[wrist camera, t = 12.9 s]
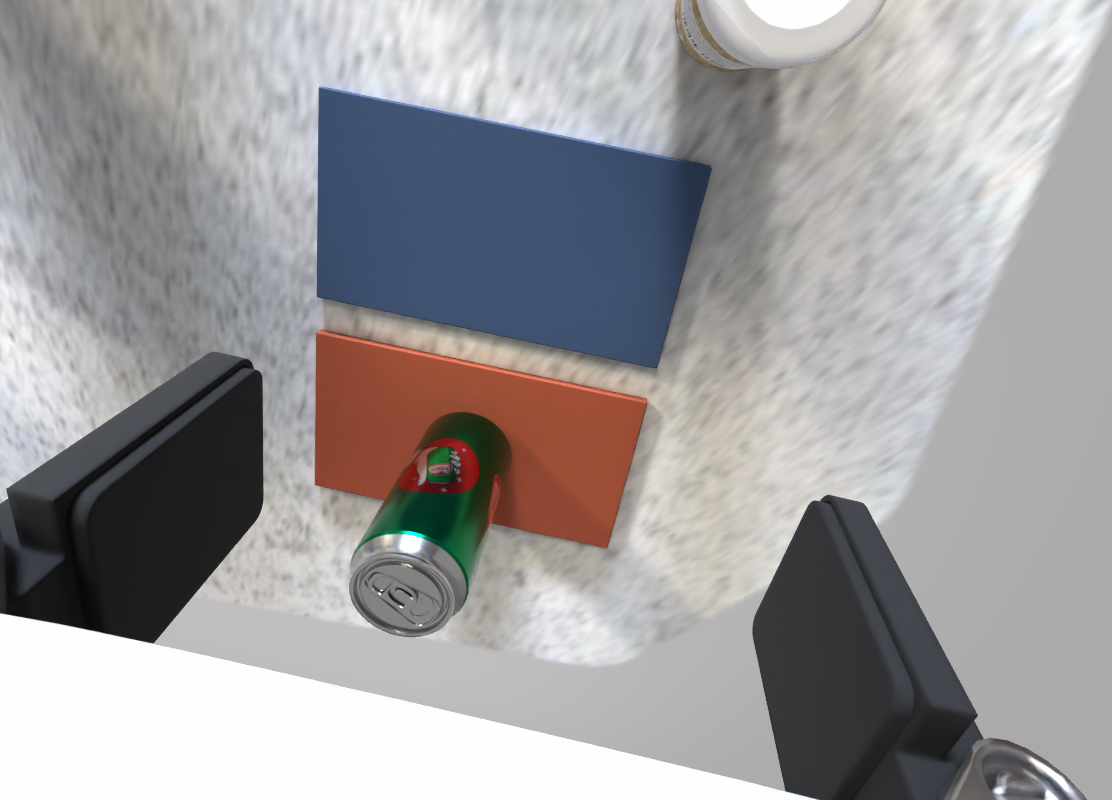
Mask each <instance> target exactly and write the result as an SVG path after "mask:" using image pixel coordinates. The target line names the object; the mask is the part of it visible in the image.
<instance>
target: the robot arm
mask: <svg viewBox="0 0 1112 800" xmlns="http://www.w3.org/2000/svg"><path fill="white" fill-rule="evenodd" d="M6 490H7V494H8V499H7V500H5V501H4V502H2V503H1V504H0V800H1087V799H1086V797H1085V796H1084V795H1083V794H1082V793H1081V792H1080V790H1079V789H1078V788H1077V787H1076V786H1075V785H1074V784H1073V783H1072V782H1071V781H1070V780H1069V779H1068V778H1067V777H1066V776H1065V775H1064V774H1063V773H1061V772H1060V771H1059V770H1058V769H1057V768H1055V767H1054V766H1053V765H1052V764H1050V763H1049V762H1048V761H1047V760H1045V759H1043V758H1042V757H1040V756H1038V755H1037V754H1035V753H1033V752H1032V751H1030V750H1029V749H1027V748H1025V747H1022V746H1020V745H1017V744H1015V743H1012V742H1010V741H1006V740H1001V739H995V738H987V739H983V737H982V735H981V733H980V731H979V729H978V727H977V725H976V723H975V722H974V720H975V719H976V717H977V716H978V715H977V713H976V711H975V709H974V708H973V705H972V704H971V702H970V700H969V698H968V696H967V694H966V692H965V690H964V689H963V687H962V685H961V683H960V681H959V679H958V678H957V675H956V673H955V672H954V670H953V668H952V666H951V664H950V662H949V660H948V659H947V657H946V655H945V653H944V651H943V650H942V647H941V645H940V644H939V642H938V640H937V638H936V636H935V634H934V632H933V631H932V629H931V627H930V625H929V623H928V621H927V619H926V617H925V615H924V614H923V612H922V610H921V608H920V606H919V604H918V603H917V600H916V599H915V597H914V595H913V593H912V591H911V589H910V587H909V586H908V584H907V582H906V580H905V578H904V576H903V574H902V572H901V571H900V569H899V567H898V565H897V563H896V561H895V559H894V558H893V556H892V554H891V552H890V550H889V548H888V546H887V544H886V543H885V541H884V539H883V537H882V535H881V533H880V531H879V529H878V527H877V526H876V524H875V522H874V520H873V518H872V516H871V514H870V512H869V511H868V509H867V507H866V506H865V505H864V503H861V502H857V501H853V500H849V499H844V498H840V497H836V496H832V495H826V496H824V497H823V498H822V499H821V501H820V502H819V501H812V502H811V503H810V504H809V505H808V507H807V509H806V511H805V513H804V515H803V517H802V519H801V521H800V523H799V526H798V528H797V530H796V532H795V534H794V536H793V538H792V540H791V542H790V544H789V546H788V548H787V550H786V552H785V554H784V557H783V559H782V561H781V563H780V565H779V567H778V569H777V571H776V573H775V575H774V577H773V579H772V581H771V583H770V585H769V588H768V590H767V592H766V594H765V596H764V598H763V600H762V602H761V604H760V606H759V608H758V610H757V612H756V615H755V617H754V622H753V639H754V644H755V649H756V654H757V658H758V663H759V668H760V673H761V677H762V682H763V687H764V692H765V696H766V701H767V706H768V711H769V715H770V720H771V725H772V730H773V734H774V738H775V744H776V748H777V753H778V757H779V762H780V767H781V772H782V777H783V781H784V786H785V791H786V792H785V791H781V790H777V789H774V788H769V787H766V786H762V785H758V784H754V783H750V782H746V781H742V780H738V779H734V778H729V777H725V776H721V775H717V774H713V773H708V772H704V771H700V770H696V769H692V768H688V767H684V766H679V765H675V764H671V763H667V762H663V761H658V760H654V759H650V758H645V757H642V756H637V755H633V754H629V753H624V752H621V751H616V750H612V749H608V748H603V747H600V746H596V745H591V744H587V743H583V742H579V741H575V740H571V739H566V738H562V737H558V736H553V735H549V734H545V733H541V732H536V731H531V730H528V729H523V728H519V727H515V726H511V725H506V724H502V723H497V722H494V721H489V720H485V719H481V718H476V717H472V716H468V715H464V714H459V713H454V712H451V711H446V710H442V709H438V708H434V707H429V706H425V705H421V704H416V703H412V702H408V701H403V700H399V699H394V698H390V697H386V696H382V695H377V694H373V693H369V692H364V691H360V690H356V689H352V688H347V687H342V686H338V685H334V684H329V683H325V682H321V681H316V680H312V679H308V678H303V677H299V676H294V675H290V674H285V673H281V672H277V671H272V670H268V669H263V668H259V667H254V666H250V665H246V664H241V663H237V662H233V661H228V660H224V659H219V658H215V657H211V656H206V655H202V654H197V653H193V652H189V651H184V650H179V649H175V648H170V647H166V646H161V645H157V644H153V643H154V642H155V641H156V640H157V639H158V637H159V636H160V635H161V634H162V633H163V631H164V630H165V629H166V628H167V627H168V626H169V624H170V623H171V622H172V621H173V619H174V618H175V617H176V616H177V615H178V614H179V612H180V611H181V610H182V609H183V608H184V606H185V605H186V604H187V603H188V602H189V600H190V599H191V598H192V597H193V596H194V594H195V593H196V592H197V591H198V590H199V588H200V587H201V586H202V585H203V584H204V582H205V581H206V580H207V579H208V578H209V576H210V575H211V574H212V573H213V572H214V570H215V569H216V568H217V567H218V566H219V564H220V563H221V562H222V561H223V560H224V558H225V557H226V556H227V555H228V554H229V552H230V551H231V550H232V549H233V548H234V546H235V545H236V544H237V543H238V542H239V540H240V539H241V538H242V537H243V536H244V534H245V533H246V532H247V531H248V530H249V528H250V527H251V526H252V525H253V524H254V522H255V521H256V520H257V518H258V516H259V514H260V512H261V509H262V505H263V384H262V375H261V373H260V372H259V371H258V370H254V367H253V365H252V362H251V361H250V360H248V359H244V358H240V357H236V356H231V355H227V354H223V353H218V352H211V353H209V354H207V355H206V356H204V357H203V358H201V359H200V360H198V361H197V362H195V363H194V364H192V365H191V366H189V367H188V368H186V369H185V370H183V371H182V372H180V373H179V374H177V375H176V376H174V377H173V378H171V379H170V380H168V381H167V382H165V383H164V384H162V385H161V386H159V387H158V388H156V389H155V390H153V391H152V392H150V393H149V394H147V395H146V396H144V397H143V398H142V399H140V400H139V401H137V402H136V403H134V404H133V405H131V406H130V407H128V408H127V409H125V410H124V411H122V412H121V413H119V414H118V415H116V416H115V417H113V418H112V419H110V420H109V421H107V422H106V423H104V424H103V425H101V426H100V427H98V428H97V429H95V430H94V431H92V432H91V433H89V434H88V435H86V436H85V437H83V438H82V439H80V440H79V441H77V442H76V443H74V444H73V445H71V446H70V447H68V448H67V449H65V450H64V451H62V452H61V453H59V454H58V455H57V456H55V457H54V458H52V459H51V460H49V461H48V462H46V463H45V464H43V465H42V466H40V467H39V468H37V469H36V470H34V471H33V472H31V473H30V474H28V475H27V476H25V477H24V478H22V479H21V480H19V481H18V482H16V483H15V484H13V485H12V486H10V487H9V488H7V489H6Z"/></svg>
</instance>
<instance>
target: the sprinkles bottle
mask: <svg viewBox="0 0 1112 800" xmlns="http://www.w3.org/2000/svg"><path fill="white" fill-rule="evenodd" d="M885 2H886V0H676V8H675V21H676V28H677V32H678V35H679V37H680V40H681V42H682V44H683V46H684V47H685V49H686V51H687V52H688V54H689V55H690V56H691V57H692V58H693V59H694V60H696V61H697V62H698V63H700V64H701V65H703V66H705V67H707V68H712V69H716V70H719V71H733V70H738V69H746V68H758V67H760V68H767V69H784V68H792V67H797V66H801V65H806V64H810V63H813V62H816V61H818V60H821V59H824V58H826V57H828V56H830V55H832V54H833V53H835V52H837V51H839V50H840V49H842V48H843V47H845V46H846V45H848V44H849V43H850V42H851V41H853V40H854V39H855V38H856V37H857V36H858V35H859V34H861V33H862V32H863V31H864V30H865V28H866V27H867V26H868V25H869V24H870V23H871V22H872V21H873V19H874V18H875V17H876V15H877V14H878V13H879V11H880V10H881V8H882V7H883V5H884V3H885Z"/></svg>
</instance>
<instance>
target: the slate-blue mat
mask: <svg viewBox="0 0 1112 800" xmlns="http://www.w3.org/2000/svg"><path fill="white" fill-rule="evenodd" d="M711 170H712V168H711V166H707V165H703V164H698V163H693V162H688V161H683V160H678V159H673V158H668V157H663V156H659V155H654V154H649V153H644V152H639V151H634V150H629V149H624V148H619V147H615V146H610V145H605V144H600V143H595V142H590V141H585V140H580V139H575V138H571V137H566V136H561V135H556V134H551V133H546V132H541V131H536V130H531V129H527V128H522V127H517V126H512V125H507V124H502V123H497V122H492V121H487V120H483V119H478V118H473V117H468V116H463V115H458V114H453V113H448V112H444V111H439V110H434V109H429V108H424V107H419V106H414V105H409V104H404V103H400V102H395V101H390V100H385V99H380V98H375V97H370V96H365V95H360V94H356V93H351V92H346V91H341V90H336V89H331V88H326V87H319V121H318V226H317V297H320V298H324V299H329V300H334V301H338V302H343V303H348V304H353V305H357V306H362V307H367V308H372V309H376V310H381V311H386V312H391V313H395V314H400V315H405V316H410V317H414V318H419V319H424V320H429V321H433V322H438V323H443V324H448V325H452V326H457V327H462V328H467V329H471V330H476V331H481V332H486V333H490V334H495V335H500V336H505V337H509V338H514V339H519V340H523V341H528V342H533V343H538V344H542V345H547V346H552V347H557V348H561V349H566V350H571V351H576V352H580V353H585V354H590V355H595V356H599V357H604V358H609V359H614V360H618V361H623V362H628V363H633V364H637V365H642V366H647V367H652V368H657V365H658V362H659V358H660V354H661V351H662V347H663V343H664V340H665V336H666V333H667V329H668V325H669V322H670V318H671V314H672V311H673V307H674V304H675V300H676V296H677V293H678V289H679V286H680V282H681V278H682V275H683V271H684V267H685V264H686V260H687V257H688V253H689V249H690V246H691V242H692V238H693V235H694V231H695V228H696V224H697V220H698V217H699V213H700V210H701V206H702V202H703V199H704V195H705V191H706V188H707V184H708V181H709V177H710V173H711Z"/></svg>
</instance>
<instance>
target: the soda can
mask: <svg viewBox="0 0 1112 800" xmlns="http://www.w3.org/2000/svg"><path fill="white" fill-rule="evenodd" d="M511 458H512V455H511V448H510V444H509V442H508V440H507V437H506V436H505V434H504V433H503V432H502V430H501V429H500V428H499V427H498V426H497V425H495V424H494V423H493V422H492V421H490V420H488V419H487V418H485V417H483V416H480V415H477V414H474V413H468V412H455V413H449V414H446V415H444V416H441V417H439V418H438V419H436V420H435V421H434V422H433V423H432V424H431V425H430V426H429V427H428V429H427V430H426V432H425V434H424V435H423V437H422V439H421V440H420V442H419V444H418V445H417V447H416V449H415V450H414V452H413V454H412V455H411V457H410V459H409V461H408V462H407V464H406V466H405V467H404V469H403V471H402V472H401V474H400V476H399V477H398V479H397V481H396V482H395V484H394V486H393V487H392V489H391V491H390V493H389V494H388V496H387V498H386V499H385V501H384V503H383V504H382V506H381V508H380V509H379V511H378V513H377V514H376V516H375V518H374V519H373V521H372V523H371V524H370V526H369V528H368V530H367V531H366V533H365V535H364V536H363V538H362V540H361V541H360V543H359V545H358V546H357V548H356V550H355V551H354V554H353V556H352V559H351V564H350V572H351V578H350V584H349V592H350V597H351V600H352V602H353V604H354V606H355V608H356V609H357V611H358V612H359V613H360V614H361V615H362V617H364V618H365V619H366V620H367V621H368V622H369V623H371V624H372V625H374V626H375V627H377V628H379V629H381V630H383V631H385V632H388V633H391V634H394V635H398V636H404V637H420V636H425V635H429V634H432V633H434V632H436V631H438V630H440V629H441V628H442V627H443V626H445V624H446V623H447V622H448V621H449V619H450V618H451V617H452V616H454V615H455V614H456V613H457V612H458V611H459V610H460V609H461V608H462V607H463V605H464V603H465V601H466V600H467V597H468V594H469V591H470V587H471V584H472V581H473V578H474V575H475V572H476V569H477V566H478V563H479V560H480V557H481V554H482V551H483V548H484V545H485V541H486V538H487V535H488V532H489V529H490V526H491V523H492V520H493V517H494V514H495V511H496V508H497V505H498V502H499V498H500V495H501V492H502V489H503V486H504V483H505V480H506V477H507V474H508V471H509V468H510V464H511Z"/></svg>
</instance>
